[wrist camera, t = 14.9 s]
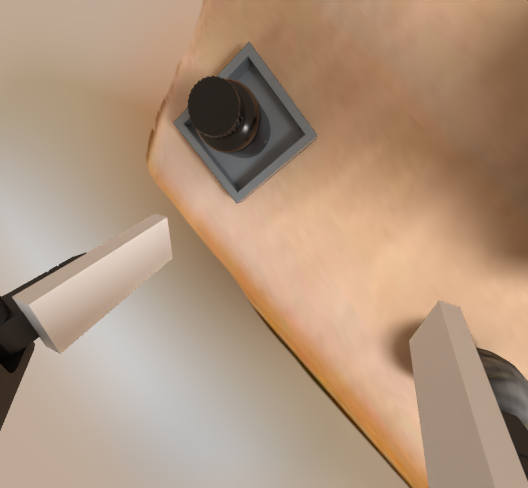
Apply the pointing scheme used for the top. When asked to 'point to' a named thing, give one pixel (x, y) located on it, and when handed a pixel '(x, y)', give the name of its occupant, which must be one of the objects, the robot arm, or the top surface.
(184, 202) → the top surface
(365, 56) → the top surface
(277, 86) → the tray
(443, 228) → the top surface
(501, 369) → the decorative stone
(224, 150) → the supplement bottle
